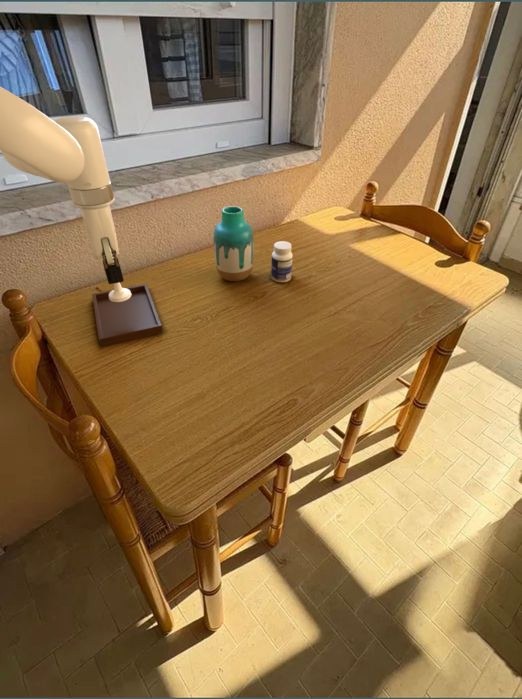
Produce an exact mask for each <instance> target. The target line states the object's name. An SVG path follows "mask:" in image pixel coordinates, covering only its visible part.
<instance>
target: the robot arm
mask: <svg viewBox="0 0 522 699" xmlns="http://www.w3.org/2000/svg"><path fill="white" fill-rule="evenodd" d="M0 153H1V155H2V157H3V158H4V159H5V161H6V162H8V164H10V165H11V166H12V167H13V168H15V169H17V170H18V171H21V172H22V173H26V174H30V175H33V176H36V177H40V178H43V179H46V180H49V181H52V182H55V183H60V184H62V183H65V184H67V188H68V191H69V194H70V198H71V201H72V204H73V206H74V207H76V208H79V209H80V212H81V216H82V220H83V223H84V227H85V230H86V233H87V237H88V240H89V243H90V244H89V245H90V247H91V250H92V254H93V257H94V258H95V259H96V260H98V259H100V258H102V265H103V269H104V272H105V276H106V280H107V283H108V285H114V283H119V282H120V283H123V282H124V281H125V280H124V276H123V271H122V267H121V264H120V262H119V258H118V257H117V256H118V255H119V254H120V250H119V243H118V238H117V233H116V227H115V222H114V218H113V214H112V210H111V206H110V205H112V204H113V203H115V200H116V199H115V194H114V190H113V187H112V182H111V178H110V173H109V169H108V165H107V161H106V156H105V153H104V148H103V143H102V140H101V135H100V130H99V127H98V125H97V124H96V122H95V121H94V120H93V119H91V118H90V117H86V116H65V117H59V118H56V119H52V118H51V117H49V116H48V115H46V114H45V113H43V112H42V111H40V110H39V109H38V108H36V107H35V106H34V105H32V104H30V103H29V102H27V101H26V100H24V99H22V98H20V97H19V96H18V95H16V94H14V93H12V92H10V91H9V90H8V89H6V88H4V87H2V86H0ZM113 257H114V258H113Z"/></svg>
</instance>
